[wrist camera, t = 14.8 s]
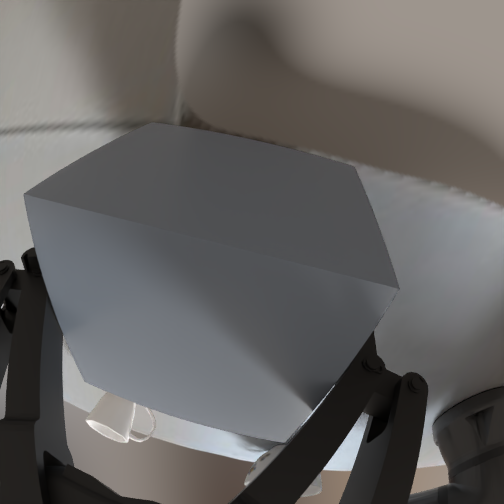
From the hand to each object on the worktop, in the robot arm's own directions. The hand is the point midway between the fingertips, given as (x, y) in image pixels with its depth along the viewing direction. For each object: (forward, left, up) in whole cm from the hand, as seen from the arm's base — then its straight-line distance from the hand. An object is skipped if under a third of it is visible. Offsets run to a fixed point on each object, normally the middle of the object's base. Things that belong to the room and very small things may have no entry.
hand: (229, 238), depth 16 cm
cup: (+12, +36, -6) cm, 38 cm away
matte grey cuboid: (0, 0, -1) cm, 1 cm away
